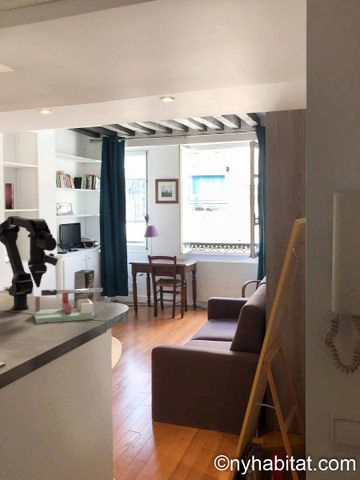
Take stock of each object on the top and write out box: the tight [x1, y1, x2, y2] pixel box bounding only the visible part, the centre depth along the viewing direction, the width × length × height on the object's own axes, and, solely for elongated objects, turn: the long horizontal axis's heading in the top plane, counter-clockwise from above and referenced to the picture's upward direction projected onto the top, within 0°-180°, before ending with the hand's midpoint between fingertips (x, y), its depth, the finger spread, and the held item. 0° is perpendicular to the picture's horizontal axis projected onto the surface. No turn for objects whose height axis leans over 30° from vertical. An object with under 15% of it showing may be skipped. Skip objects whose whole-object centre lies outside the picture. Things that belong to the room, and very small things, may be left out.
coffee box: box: [73, 269, 95, 308], centre depth 207 cm, size 9×6×16 cm
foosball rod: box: [40, 287, 104, 313], centre depth 189 cm, size 10×26×8 cm, turn 113°
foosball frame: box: [33, 294, 95, 324], centre depth 186 cm, size 13×23×8 cm, turn 113°
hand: (37, 285), depth 189 cm, fingers open, 9 cm apart
